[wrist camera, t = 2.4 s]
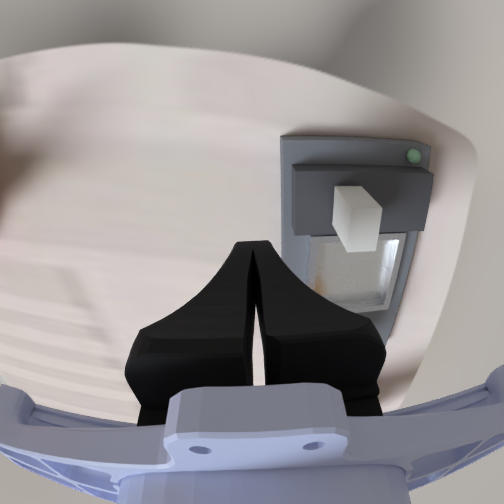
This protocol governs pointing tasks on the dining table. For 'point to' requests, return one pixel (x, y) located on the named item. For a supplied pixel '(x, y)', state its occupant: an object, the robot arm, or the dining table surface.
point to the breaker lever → (356, 218)
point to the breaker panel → (345, 155)
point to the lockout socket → (354, 271)
